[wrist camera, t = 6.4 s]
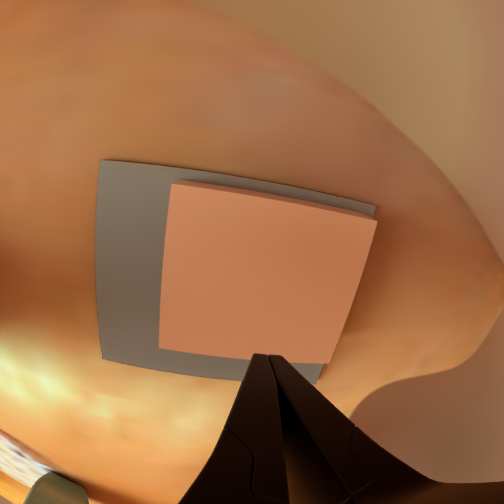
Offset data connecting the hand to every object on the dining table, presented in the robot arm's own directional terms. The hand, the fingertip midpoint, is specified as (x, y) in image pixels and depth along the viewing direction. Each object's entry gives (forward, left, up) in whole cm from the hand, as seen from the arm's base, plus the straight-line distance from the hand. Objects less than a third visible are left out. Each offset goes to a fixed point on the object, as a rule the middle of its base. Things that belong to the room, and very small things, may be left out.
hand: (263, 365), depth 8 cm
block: (0, +4, -6) cm, 7 cm away
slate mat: (-2, +1, -8) cm, 8 cm away
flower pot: (-36, +19, -8) cm, 41 cm away
